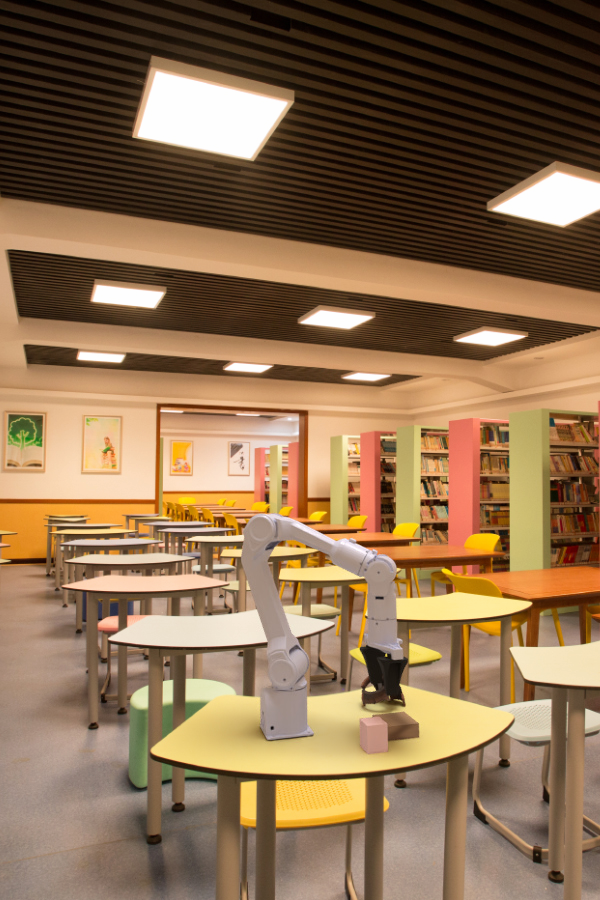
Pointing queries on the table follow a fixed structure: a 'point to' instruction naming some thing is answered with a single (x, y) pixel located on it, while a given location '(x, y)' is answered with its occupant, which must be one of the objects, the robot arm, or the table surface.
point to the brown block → (400, 725)
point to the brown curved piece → (378, 693)
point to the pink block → (373, 735)
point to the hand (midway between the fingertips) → (383, 689)
